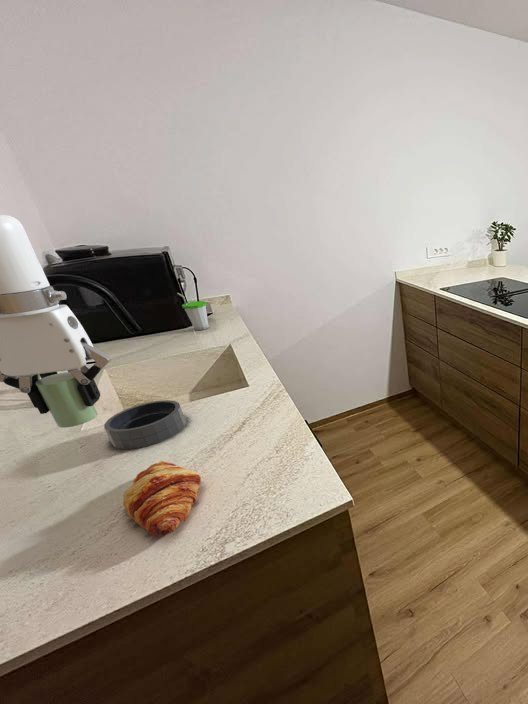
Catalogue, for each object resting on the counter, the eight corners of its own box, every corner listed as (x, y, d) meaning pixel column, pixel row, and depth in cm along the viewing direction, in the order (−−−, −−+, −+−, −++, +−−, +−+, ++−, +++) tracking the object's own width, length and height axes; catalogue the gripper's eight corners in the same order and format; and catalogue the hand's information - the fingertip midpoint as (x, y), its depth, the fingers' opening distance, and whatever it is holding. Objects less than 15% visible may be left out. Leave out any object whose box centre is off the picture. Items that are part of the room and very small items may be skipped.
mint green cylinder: (50, 430, 62) (27, 387, 58) (66, 415, 66) (45, 374, 63) (90, 423, 64) (70, 381, 60) (102, 409, 68) (84, 369, 65)
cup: (218, 326, 153) (207, 290, 147) (201, 332, 146) (189, 294, 140) (202, 325, 155) (191, 289, 149) (185, 331, 148) (172, 293, 142)
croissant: (151, 493, 71) (109, 472, 66) (199, 452, 74) (163, 430, 69) (158, 567, 56) (105, 547, 51) (218, 512, 60) (174, 488, 55)
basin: (103, 458, 75) (93, 437, 73) (126, 426, 86) (117, 407, 84) (179, 441, 80) (171, 422, 78) (192, 413, 91) (185, 395, 89)
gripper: (103, 291, 63) (141, 387, 70) (-44, 301, 56) (15, 406, 64) (82, 301, 57) (127, 406, 64) (-86, 314, 50) (-15, 429, 57)
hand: (71, 405), depth 64 cm, fingers closed on mint green cylinder, 5 cm apart
